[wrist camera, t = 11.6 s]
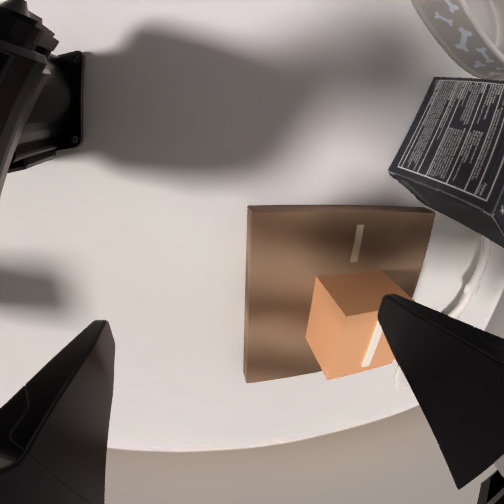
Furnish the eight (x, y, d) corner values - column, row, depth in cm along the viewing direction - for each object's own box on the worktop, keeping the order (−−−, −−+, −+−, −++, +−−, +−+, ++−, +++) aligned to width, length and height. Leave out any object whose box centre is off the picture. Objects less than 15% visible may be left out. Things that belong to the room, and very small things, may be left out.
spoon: (509, 163, 23) (530, 170, 20) (420, 373, 36) (432, 388, 33) (475, 137, 21) (500, 143, 18) (377, 383, 34) (388, 401, 31)
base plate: (247, 205, 20) (263, 229, 16) (424, 207, 23) (459, 225, 19) (243, 371, 26) (252, 408, 22) (384, 345, 30) (404, 371, 26)
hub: (364, 327, 25) (393, 364, 21) (305, 337, 24) (328, 381, 19) (380, 270, 23) (418, 304, 18) (316, 276, 21) (347, 318, 17)
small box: (427, 209, 23) (514, 260, 14) (384, 171, 21) (489, 217, 11) (469, 120, 20) (558, 142, 11) (433, 74, 18) (535, 79, 8)
